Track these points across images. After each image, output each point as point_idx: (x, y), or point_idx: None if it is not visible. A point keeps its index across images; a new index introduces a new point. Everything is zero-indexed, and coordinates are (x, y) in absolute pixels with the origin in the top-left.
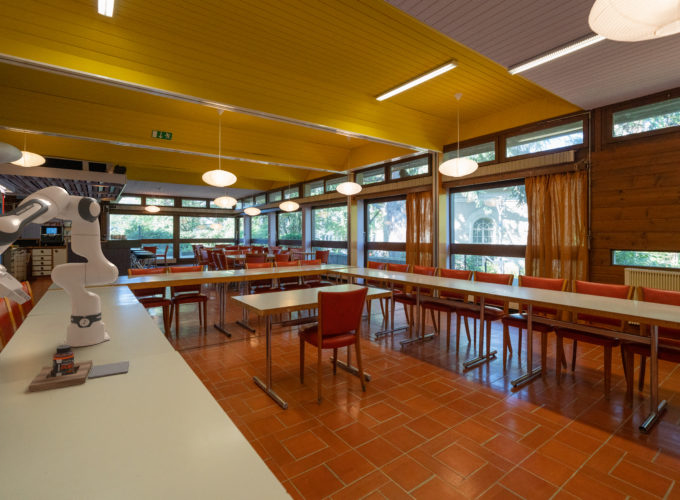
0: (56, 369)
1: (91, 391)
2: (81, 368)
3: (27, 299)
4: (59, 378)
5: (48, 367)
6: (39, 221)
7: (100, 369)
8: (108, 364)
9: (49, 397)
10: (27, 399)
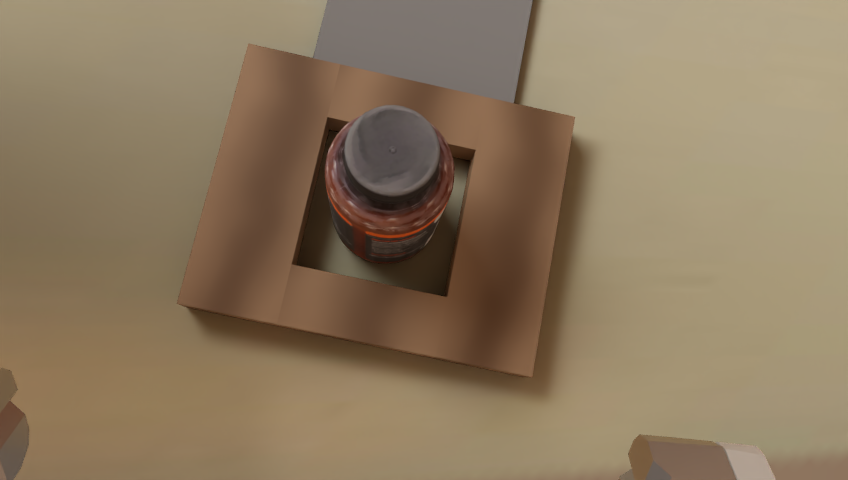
0: (428, 235)
1: (717, 118)
2: None
3: (4, 423)
4: (506, 231)
5: (219, 278)
6: None
7: (413, 34)
8: None
9: (677, 287)
10: (638, 378)
